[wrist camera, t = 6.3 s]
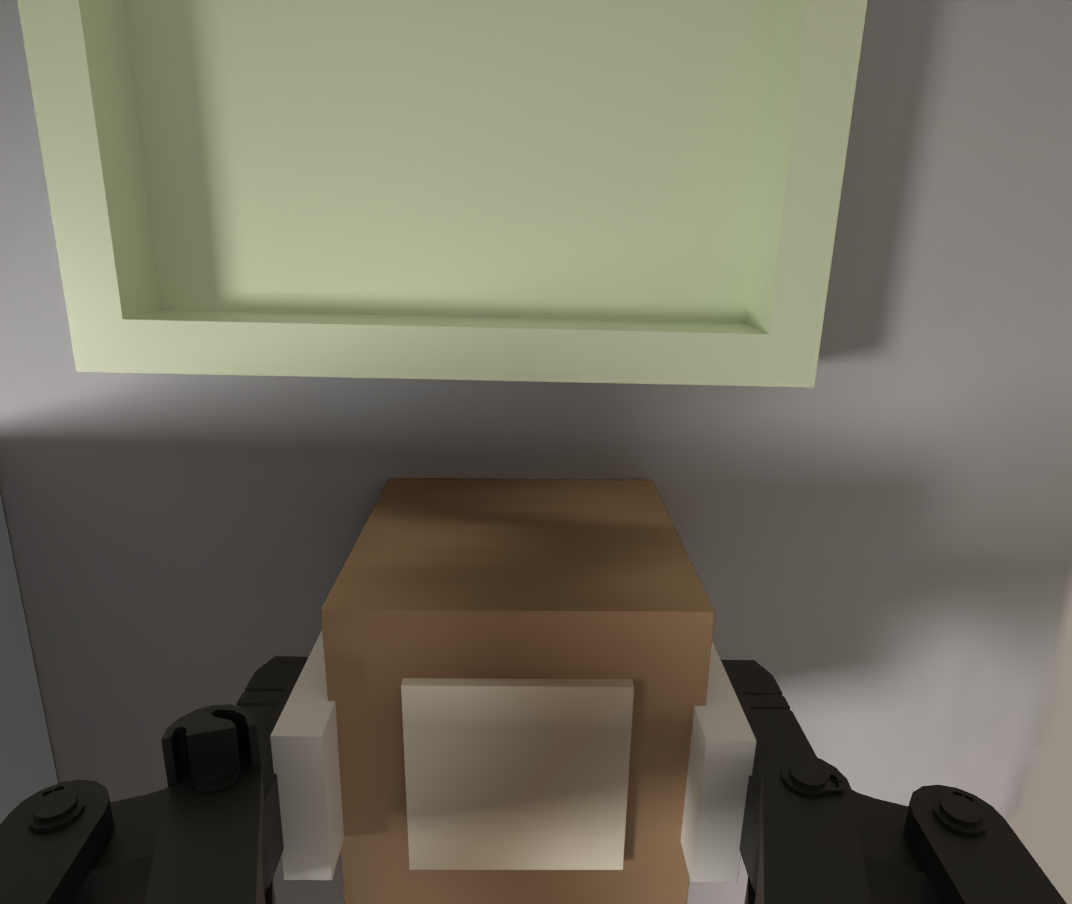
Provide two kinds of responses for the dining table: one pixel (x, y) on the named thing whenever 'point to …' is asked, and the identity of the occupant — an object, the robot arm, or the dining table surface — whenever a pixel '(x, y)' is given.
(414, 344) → the tray
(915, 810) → the robot arm
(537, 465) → the dining table surface
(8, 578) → the screen
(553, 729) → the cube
